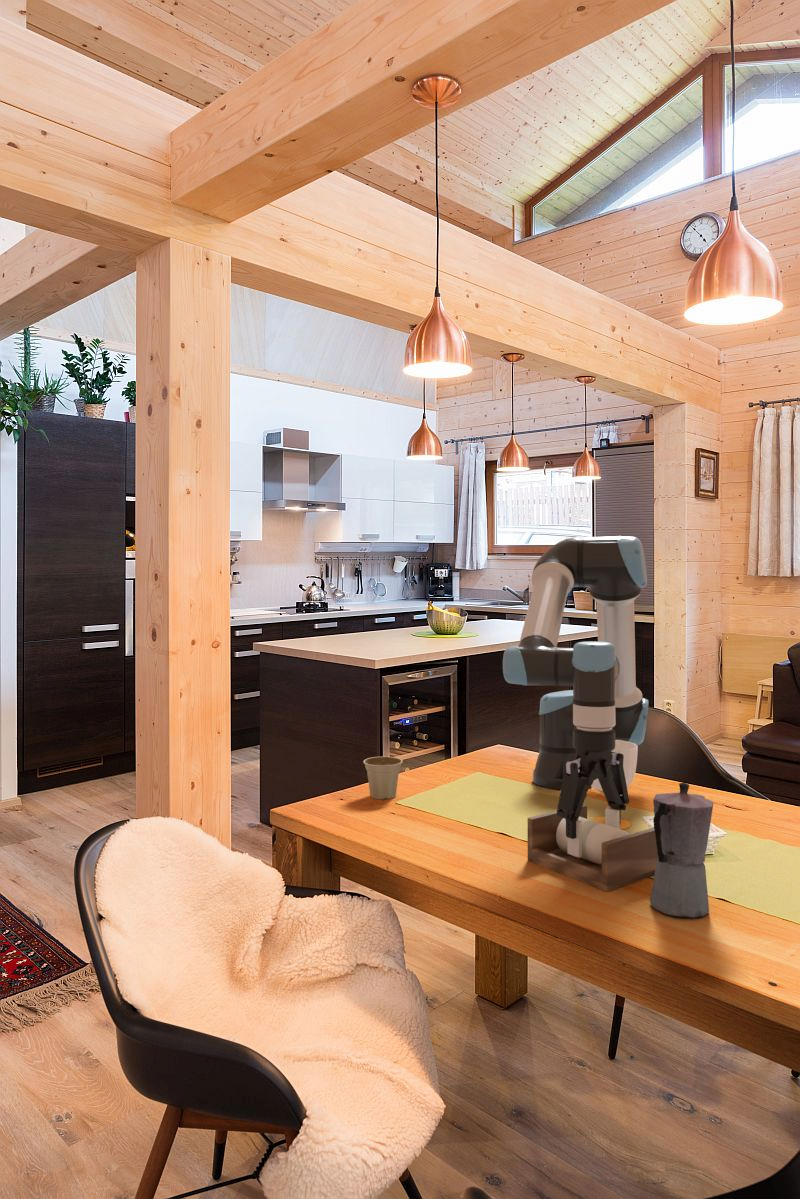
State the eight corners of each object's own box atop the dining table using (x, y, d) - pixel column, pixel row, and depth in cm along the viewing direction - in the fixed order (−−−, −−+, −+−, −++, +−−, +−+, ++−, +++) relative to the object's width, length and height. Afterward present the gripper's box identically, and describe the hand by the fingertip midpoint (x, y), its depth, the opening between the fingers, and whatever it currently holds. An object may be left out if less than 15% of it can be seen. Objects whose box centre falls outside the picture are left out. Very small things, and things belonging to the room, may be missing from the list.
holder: (527, 860, 152) (527, 817, 152) (582, 844, 161) (582, 804, 161) (607, 891, 137) (607, 844, 137) (663, 872, 146) (663, 827, 146)
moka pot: (727, 902, 132) (728, 780, 132) (689, 934, 121) (689, 800, 120) (670, 887, 139) (671, 770, 138) (629, 916, 127) (629, 789, 127)
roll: (552, 851, 152) (558, 813, 152) (578, 852, 156) (583, 814, 156) (604, 870, 142) (610, 829, 142) (630, 871, 146) (636, 831, 146)
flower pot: (399, 802, 192) (399, 765, 191) (360, 801, 193) (359, 764, 193) (405, 791, 201) (405, 757, 201) (367, 790, 202) (367, 756, 202)
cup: (624, 836, 166) (624, 752, 165) (571, 825, 173) (571, 745, 172) (645, 822, 175) (646, 743, 175) (594, 812, 182) (594, 736, 182)
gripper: (617, 717, 158) (617, 832, 158) (535, 731, 145) (535, 856, 146) (649, 723, 152) (649, 842, 152) (567, 738, 139) (567, 868, 139)
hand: (593, 849), depth 149 cm, fingers open, 9 cm apart
